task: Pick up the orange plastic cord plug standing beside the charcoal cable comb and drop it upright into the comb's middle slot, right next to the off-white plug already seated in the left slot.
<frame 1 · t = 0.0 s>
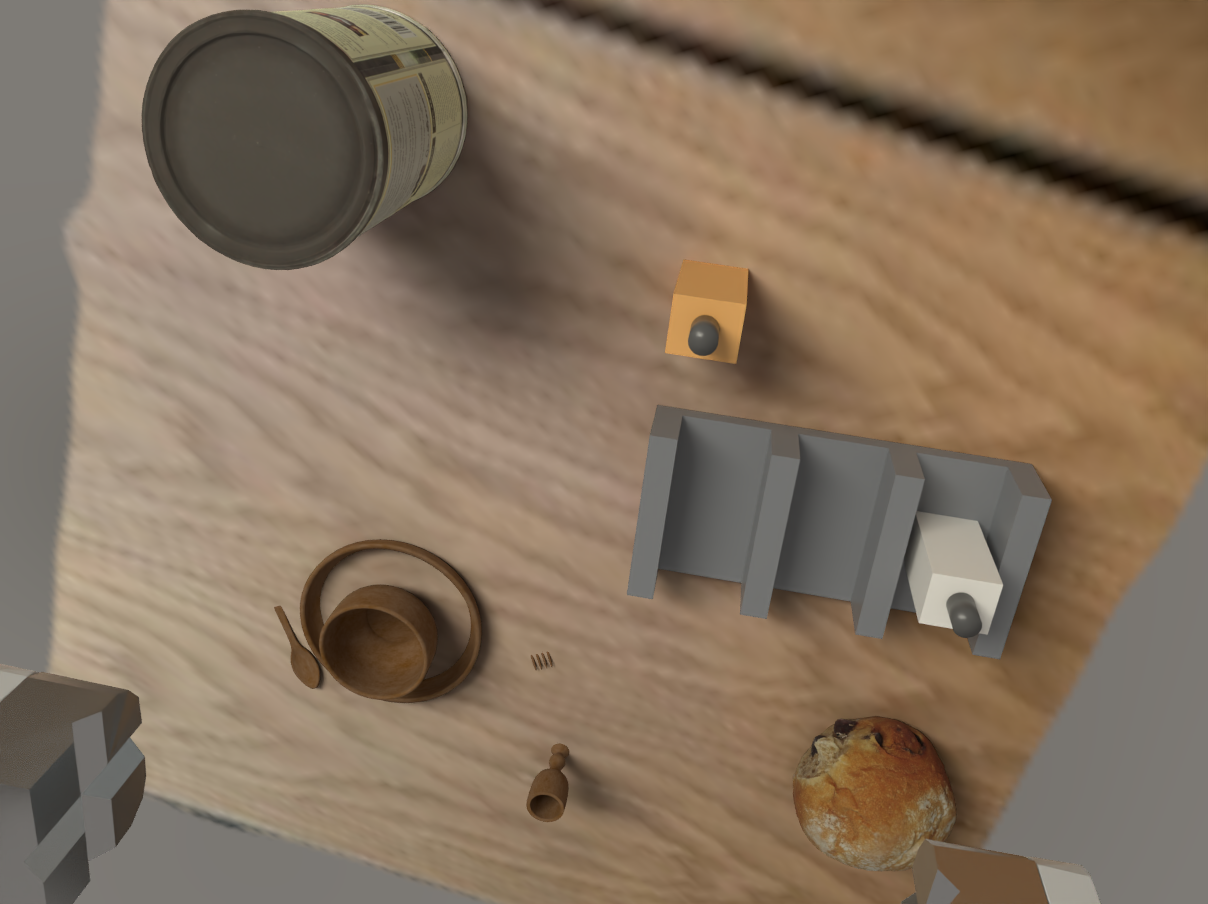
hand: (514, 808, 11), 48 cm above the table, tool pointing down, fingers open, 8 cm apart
cable comb: (824, 512, 62), on the table
bread roll: (868, 769, 69), on the table
white plug: (939, 539, 60), point 1 cm above the table, touching cable comb
orange plug: (711, 291, 57), on the table
coffee can: (376, 109, 56), on the table
place setting: (425, 660, 71), on the table
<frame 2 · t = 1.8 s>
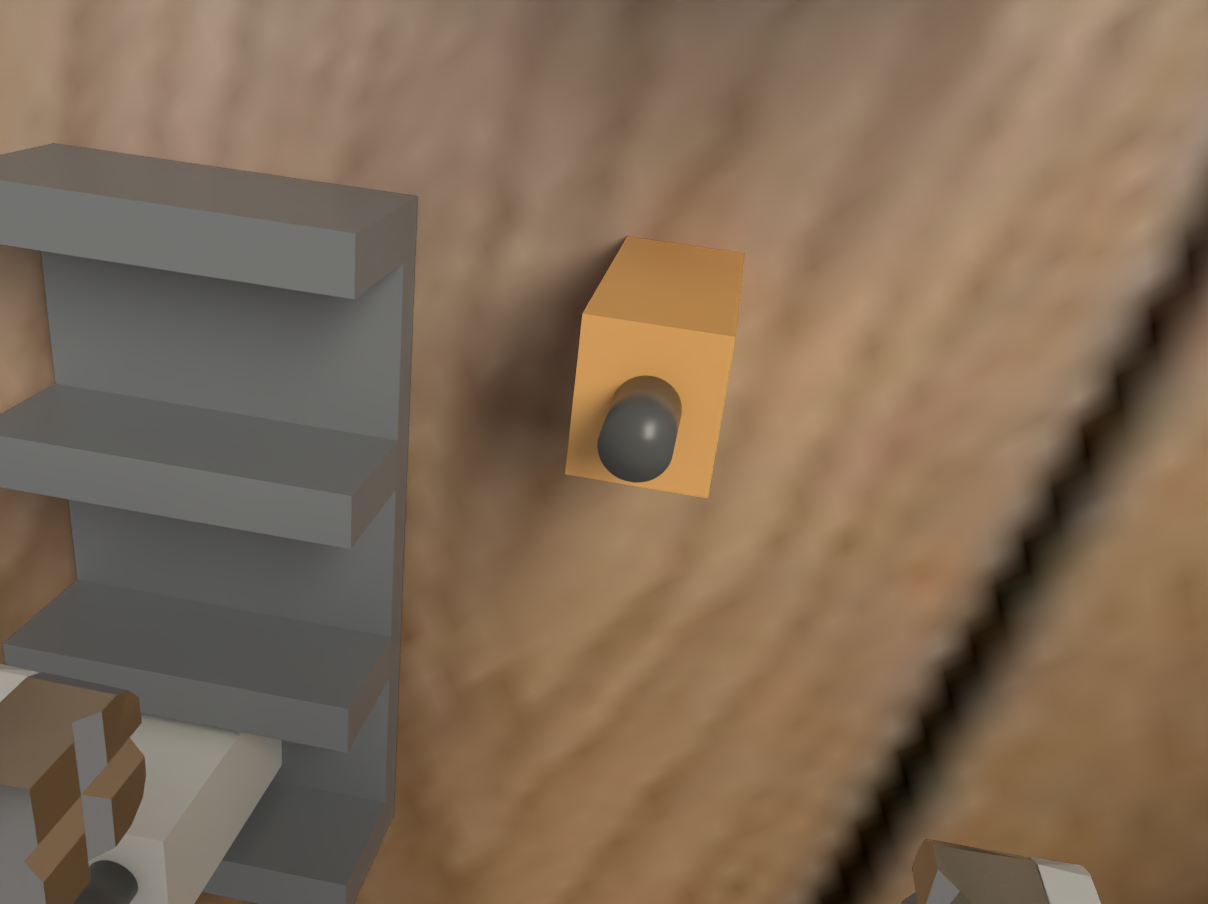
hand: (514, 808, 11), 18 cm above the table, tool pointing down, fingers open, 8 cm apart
cable comb: (244, 520, 32), on the table
white plug: (236, 713, 34), point 1 cm above the table, touching cable comb
orange plug: (675, 311, 28), on the table
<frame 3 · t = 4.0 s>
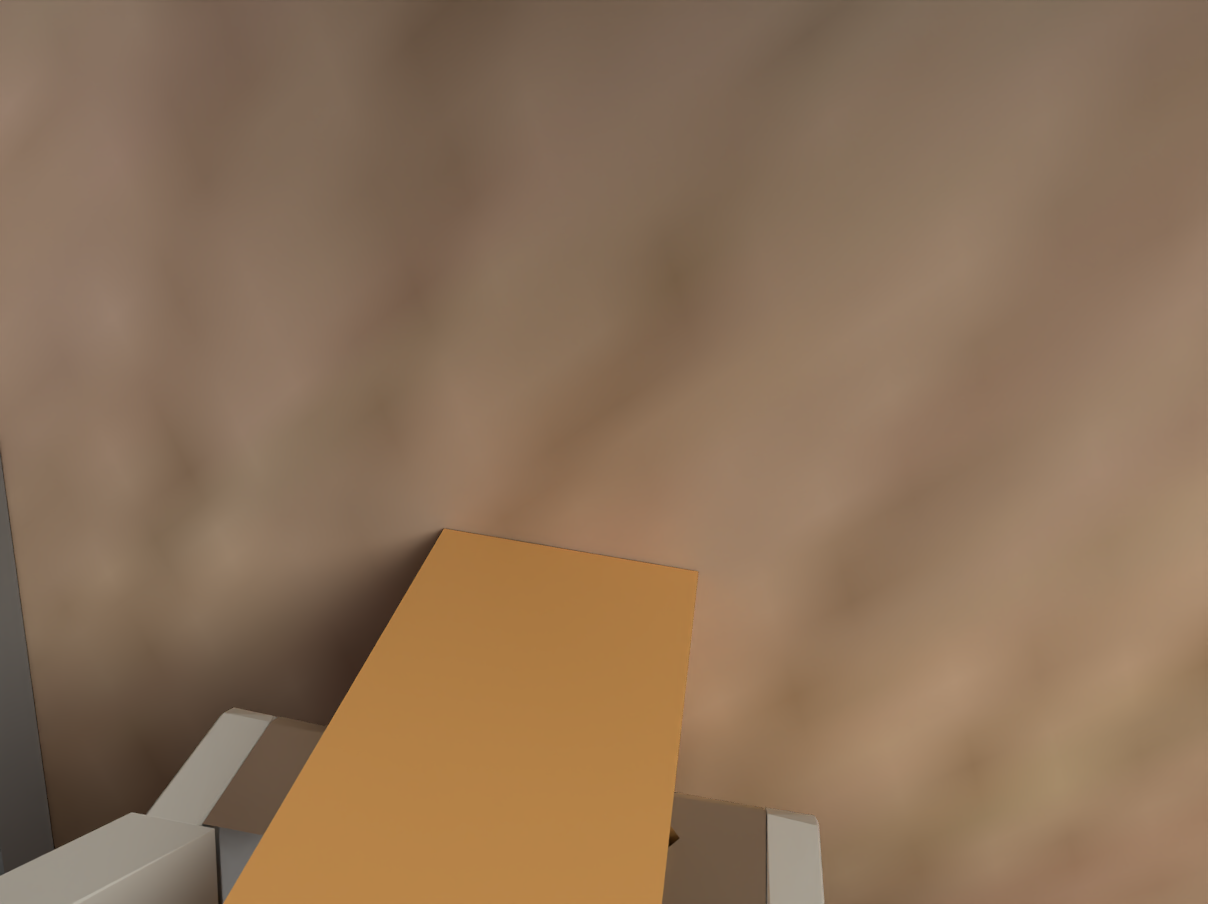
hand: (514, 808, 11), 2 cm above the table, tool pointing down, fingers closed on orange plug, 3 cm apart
orange plug: (555, 673, 13), on the table, touching gripper
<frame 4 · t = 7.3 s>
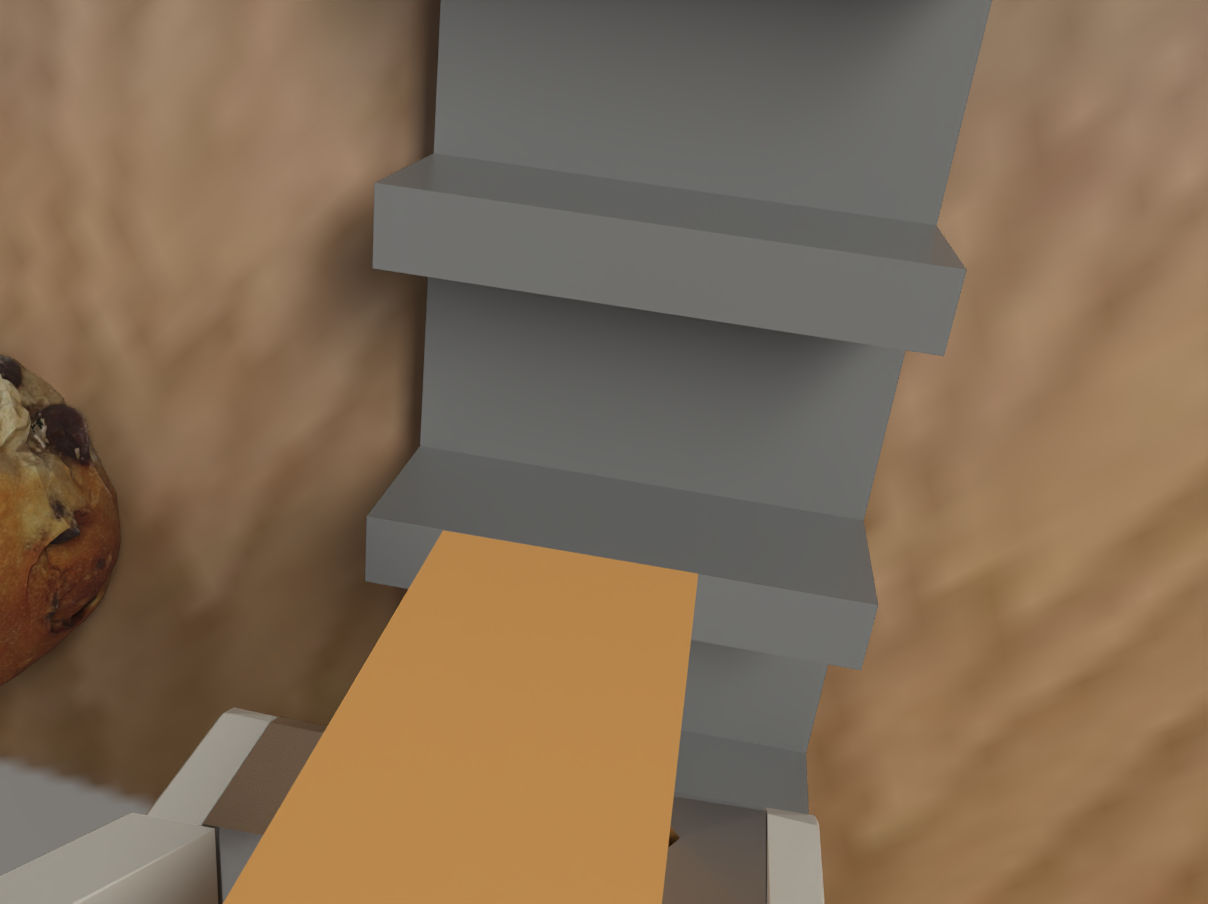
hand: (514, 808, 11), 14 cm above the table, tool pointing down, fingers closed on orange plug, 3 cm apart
cable comb: (657, 362, 23), on the table
orange plug: (555, 675, 13), point 12 cm above the table, touching gripper
when the fingers open (6 cm above the table, at t = 8.9 s): orange plug drops 2 cm, resting on cable comb.
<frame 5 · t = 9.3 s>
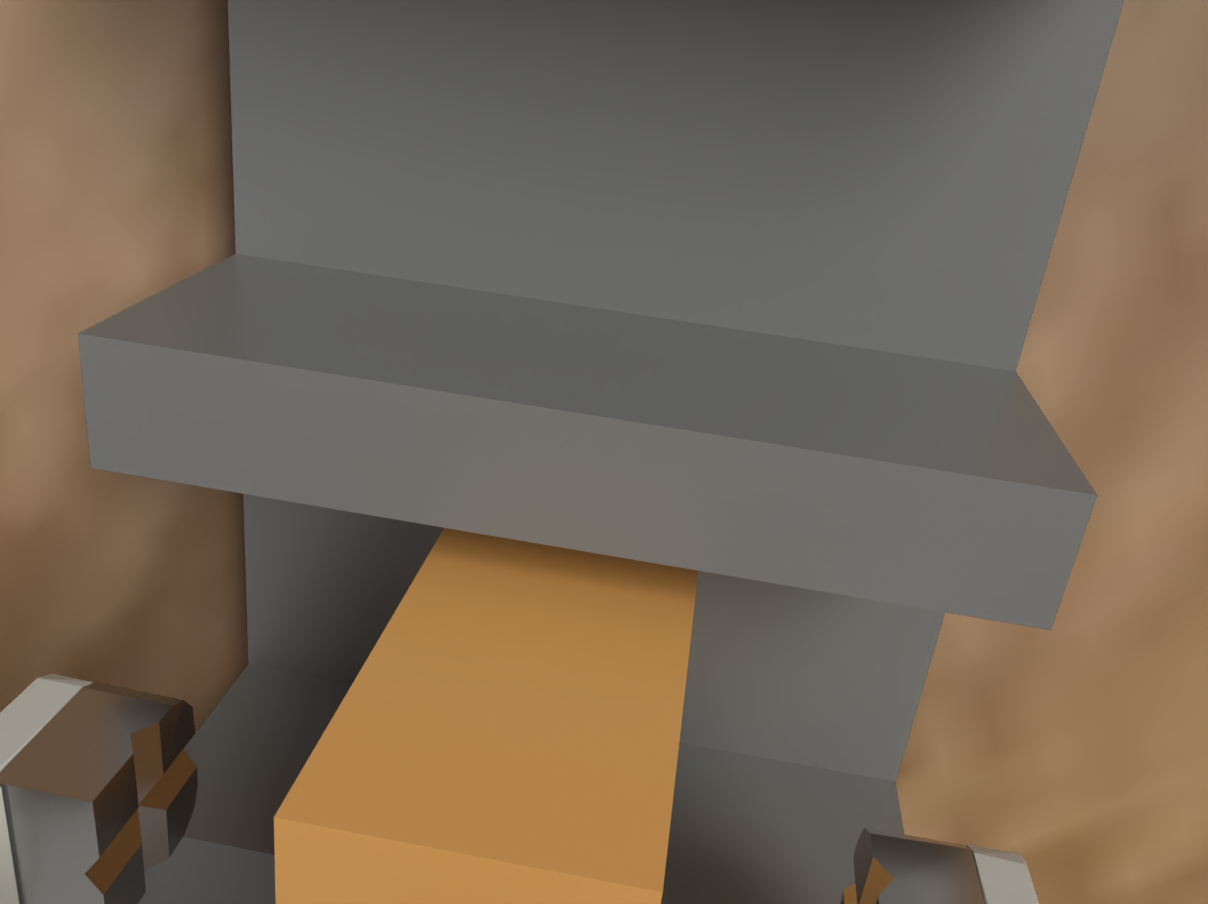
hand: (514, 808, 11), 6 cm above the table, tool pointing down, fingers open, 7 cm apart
cable comb: (591, 547, 16), on the table
orange plug: (583, 580, 15), point 1 cm above the table, touching cable comb
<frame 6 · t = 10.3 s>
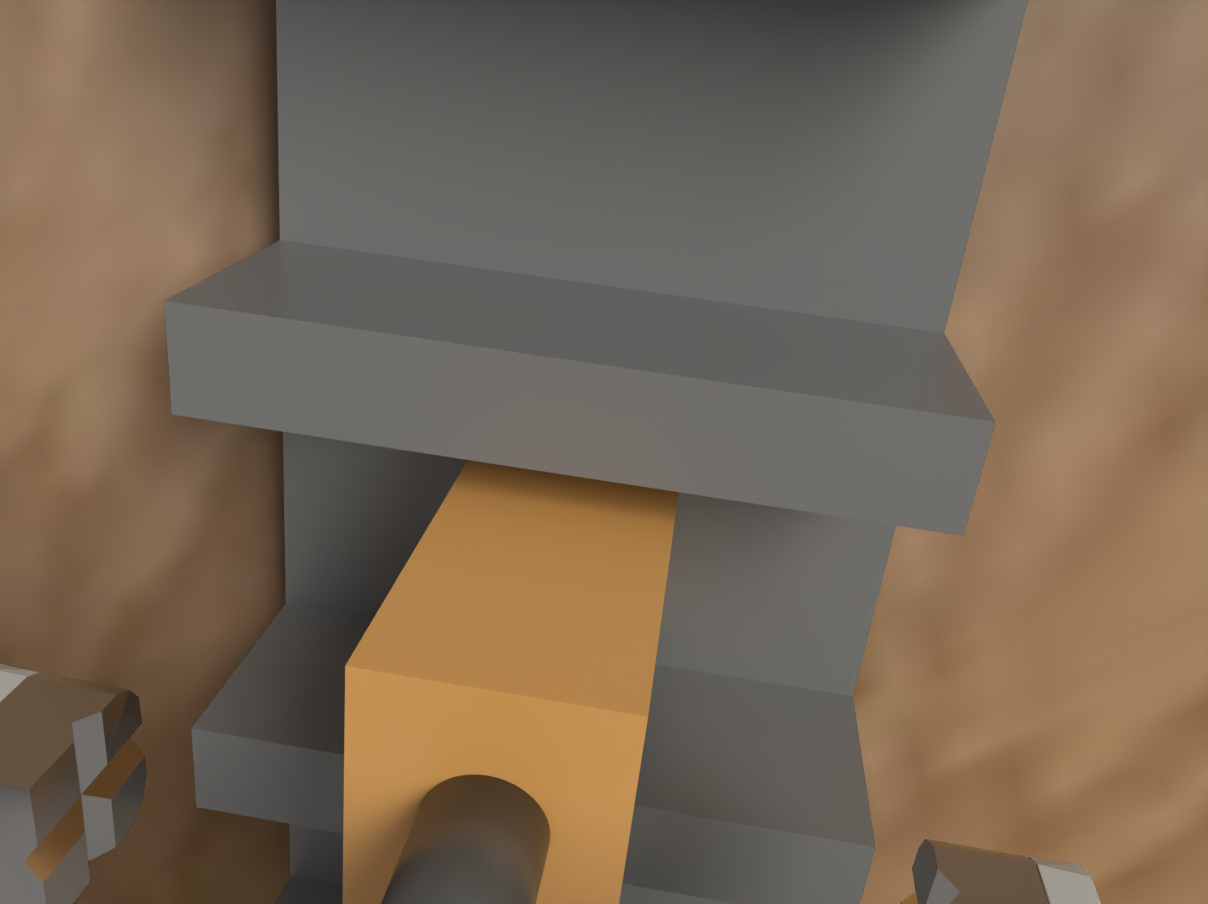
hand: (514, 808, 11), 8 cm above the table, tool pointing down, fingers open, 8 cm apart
cable comb: (586, 495, 18), on the table
orange plug: (580, 521, 17), point 1 cm above the table, touching cable comb
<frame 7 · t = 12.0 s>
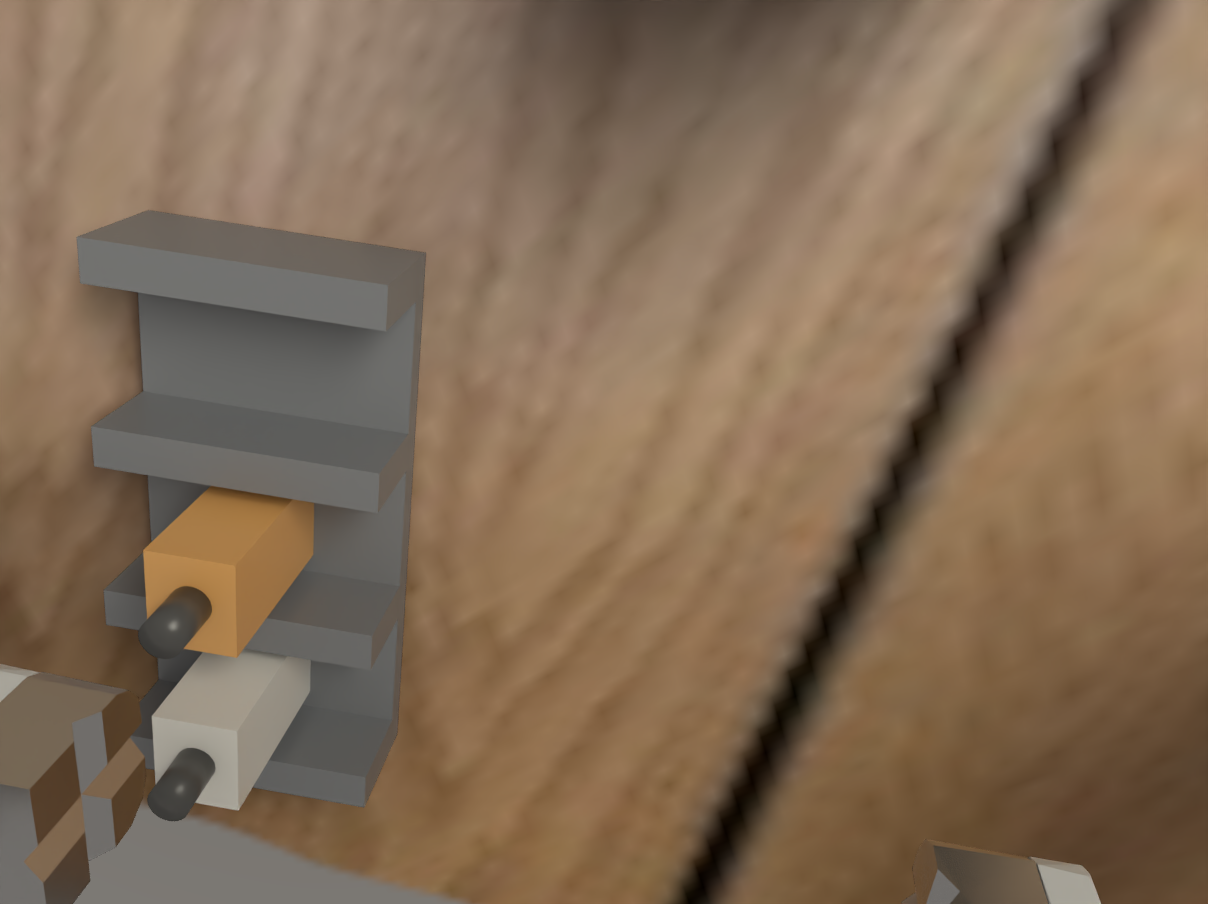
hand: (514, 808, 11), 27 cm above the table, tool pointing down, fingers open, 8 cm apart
cable comb: (284, 497, 41), on the table
white plug: (274, 650, 43), point 1 cm above the table, touching cable comb
orange plug: (275, 508, 40), point 1 cm above the table, touching cable comb
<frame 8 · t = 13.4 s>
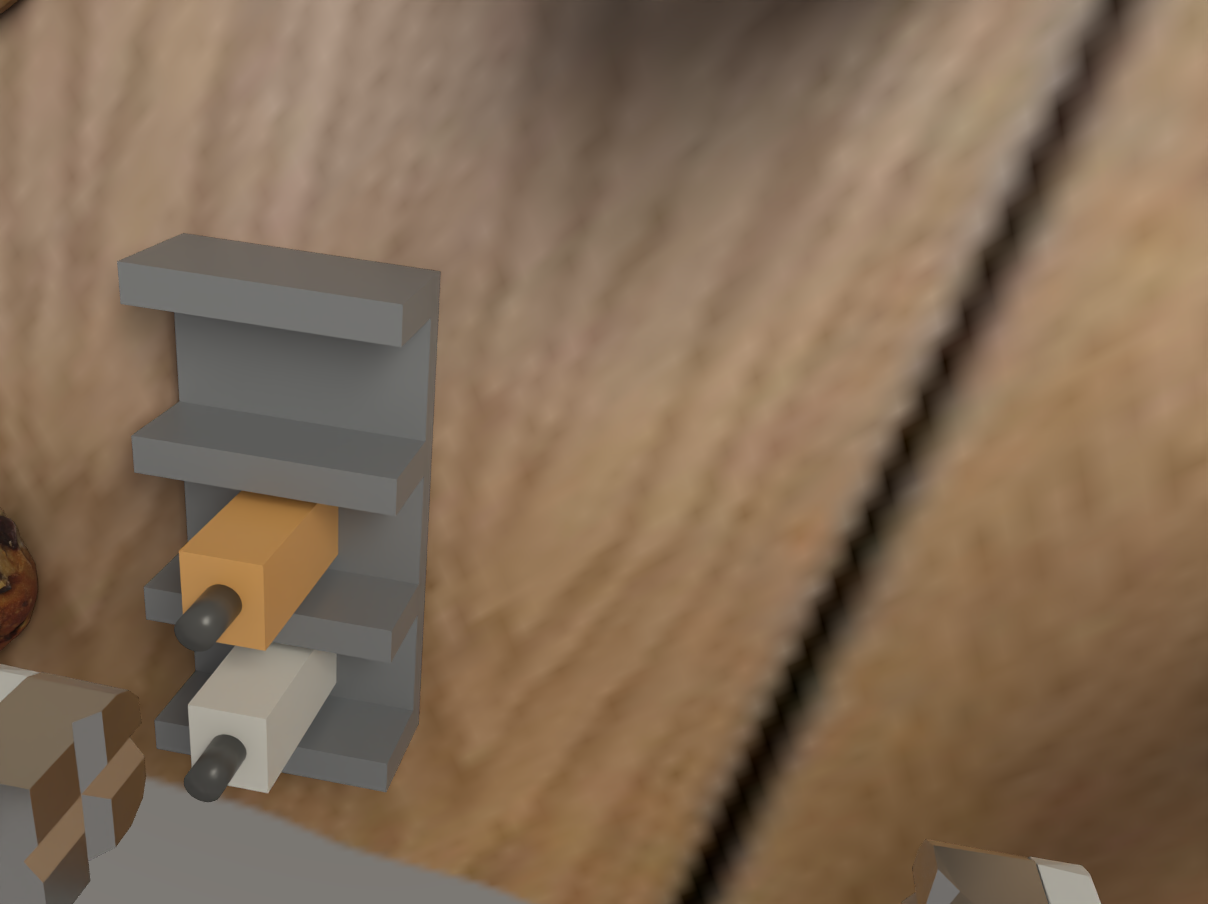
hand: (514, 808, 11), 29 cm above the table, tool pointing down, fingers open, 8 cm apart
cable comb: (311, 500, 44), on the table
white plug: (303, 643, 46), point 1 cm above the table, touching cable comb
orange plug: (302, 510, 43), point 1 cm above the table, touching cable comb
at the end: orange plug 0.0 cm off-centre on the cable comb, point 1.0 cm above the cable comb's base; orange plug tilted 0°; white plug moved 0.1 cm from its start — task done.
